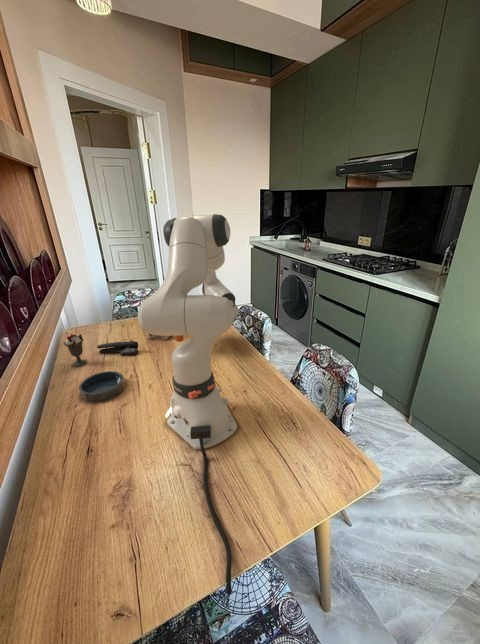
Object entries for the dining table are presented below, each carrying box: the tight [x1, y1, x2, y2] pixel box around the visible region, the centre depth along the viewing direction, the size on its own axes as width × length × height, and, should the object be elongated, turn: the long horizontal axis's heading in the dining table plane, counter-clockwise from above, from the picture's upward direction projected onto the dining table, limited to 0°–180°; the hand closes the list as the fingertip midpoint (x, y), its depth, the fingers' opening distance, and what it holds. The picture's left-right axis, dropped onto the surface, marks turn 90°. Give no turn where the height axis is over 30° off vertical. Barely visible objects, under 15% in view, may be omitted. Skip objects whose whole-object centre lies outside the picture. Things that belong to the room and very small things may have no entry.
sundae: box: [63, 331, 88, 368], centre depth 115 cm, size 7×7×15 cm
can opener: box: [96, 339, 139, 357], centre depth 125 cm, size 18×7×6 cm, turn 89°
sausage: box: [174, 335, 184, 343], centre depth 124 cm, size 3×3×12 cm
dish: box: [78, 370, 126, 403], centre depth 101 cm, size 14×14×4 cm
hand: (176, 326), depth 123 cm, fingers closed on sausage, 3 cm apart
